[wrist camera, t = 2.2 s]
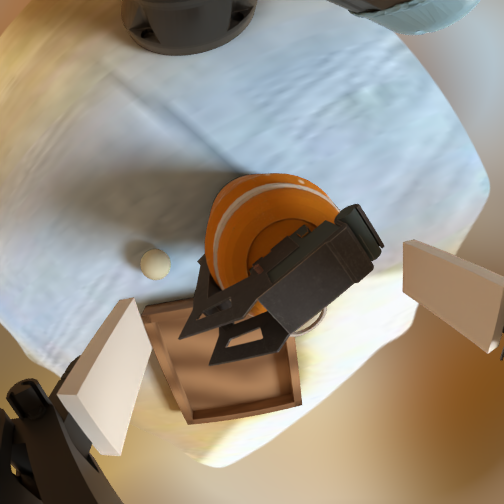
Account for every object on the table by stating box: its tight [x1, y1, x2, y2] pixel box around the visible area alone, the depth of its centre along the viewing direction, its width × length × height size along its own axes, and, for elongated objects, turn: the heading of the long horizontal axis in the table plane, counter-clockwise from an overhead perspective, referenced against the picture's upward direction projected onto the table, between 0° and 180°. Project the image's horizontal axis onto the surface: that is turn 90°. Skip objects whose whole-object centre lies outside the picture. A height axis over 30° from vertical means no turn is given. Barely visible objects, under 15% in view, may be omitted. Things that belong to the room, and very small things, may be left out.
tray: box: [141, 297, 302, 425], centre depth 33 cm, size 18×16×3 cm
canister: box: [178, 173, 384, 366], centre depth 20 cm, size 9×11×20 cm
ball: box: [140, 249, 171, 280], centre depth 28 cm, size 3×3×3 cm
